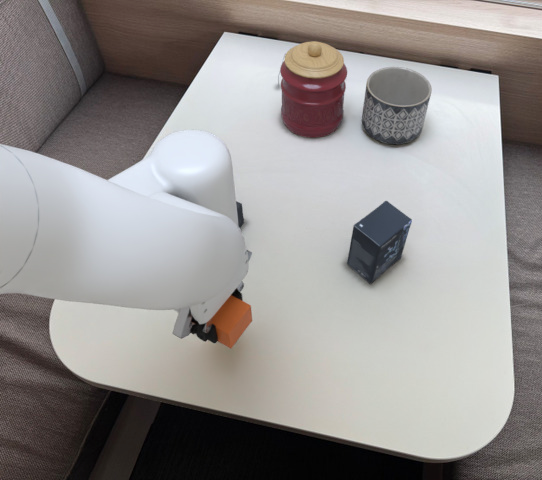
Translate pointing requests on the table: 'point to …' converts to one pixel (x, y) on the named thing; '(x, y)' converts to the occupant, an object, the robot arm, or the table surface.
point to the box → (378, 241)
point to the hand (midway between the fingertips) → (220, 320)
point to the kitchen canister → (313, 89)
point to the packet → (232, 320)
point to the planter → (395, 104)
